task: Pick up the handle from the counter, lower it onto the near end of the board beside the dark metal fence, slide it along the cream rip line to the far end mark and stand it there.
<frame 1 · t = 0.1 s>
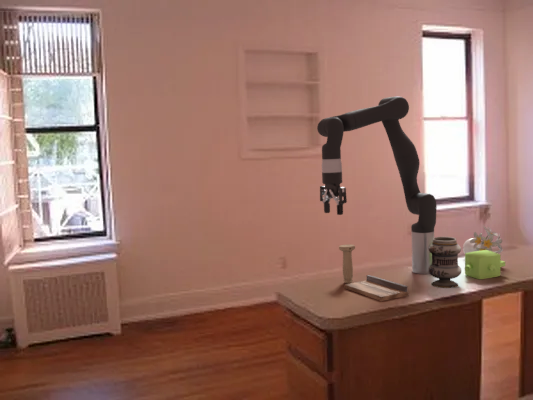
hand: (333, 213, 213), 29 cm above the worktop, tool pointing down, fingers open, 8 cm apart
gearbox: (482, 277, 224), on the worktop
handle: (348, 283, 223), on the worktop
apothecary jar: (444, 285, 214), on the worktop
board: (375, 291, 208), on the worktop
flower vase: (481, 262, 249), on the worktop
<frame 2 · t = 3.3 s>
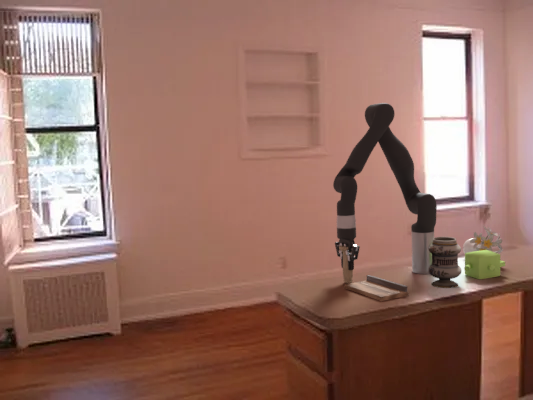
hand: (347, 268, 223), 6 cm above the worktop, tool pointing down, fingers closed on handle, 4 cm apart
handle: (348, 283, 223), on the worktop, touching gripper
everything else where it was.
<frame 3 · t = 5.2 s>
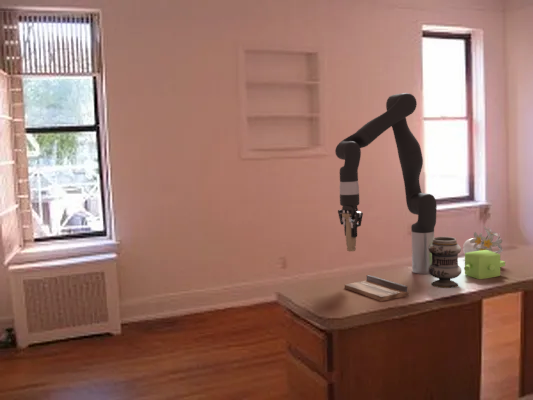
hand: (350, 236, 220), 19 cm above the worktop, tool pointing down, fingers closed on handle, 4 cm apart
handle: (351, 251, 220), point 13 cm above the worktop, touching gripper
everything else where it was.
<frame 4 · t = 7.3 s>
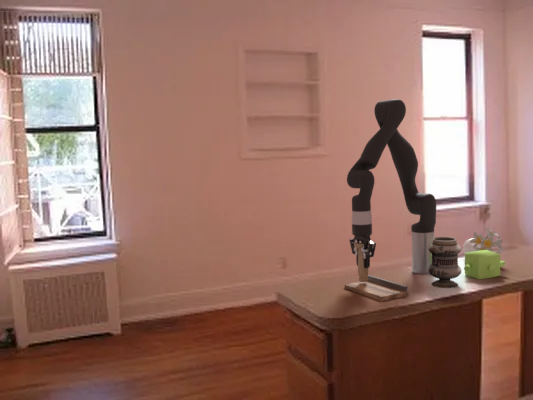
hand: (363, 266, 215), 8 cm above the worktop, tool pointing down, fingers closed on handle, 4 cm apart
handle: (363, 281, 215), point 2 cm above the worktop, touching gripper
everything else where it was.
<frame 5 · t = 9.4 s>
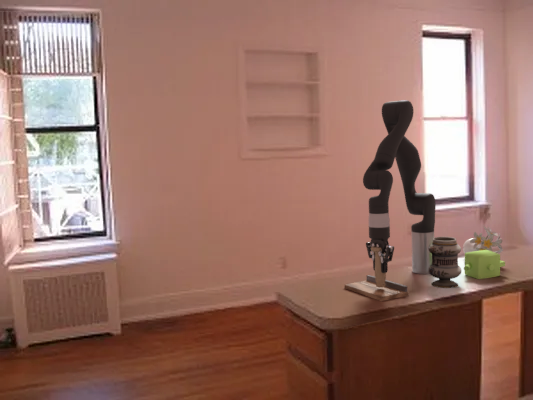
hand: (380, 271, 205), 8 cm above the worktop, tool pointing down, fingers closed on handle, 4 cm apart
handle: (380, 287, 206), point 2 cm above the worktop, touching gripper
everything else where it was.
when the fingers open (8 cm above the worktop, at t = 11.4 s): handle stays where it is, resting on board.
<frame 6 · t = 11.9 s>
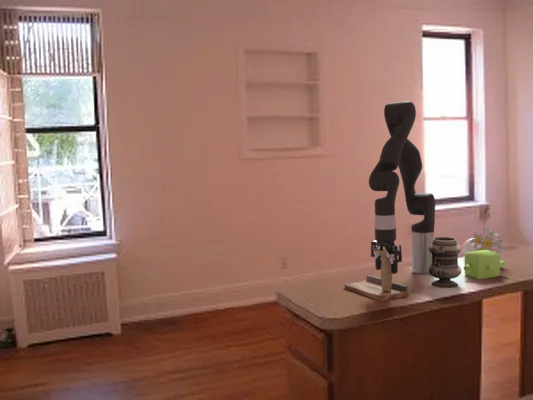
hand: (386, 271, 202), 9 cm above the worktop, tool pointing down, fingers open, 8 cm apart
handle: (386, 291, 203), point 1 cm above the worktop, touching board
everything else where it was.
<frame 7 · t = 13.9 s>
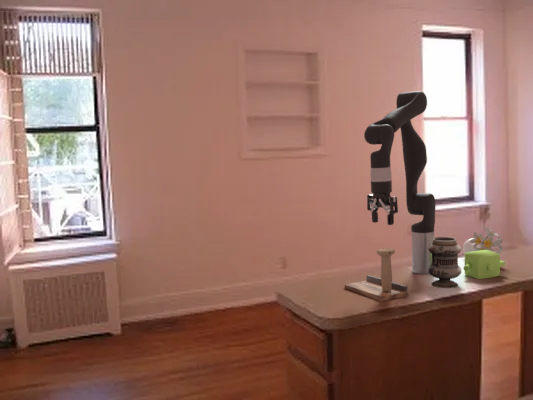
hand: (382, 223, 207), 25 cm above the worktop, tool pointing down, fingers open, 8 cm apart
nothing on the worktop moved.
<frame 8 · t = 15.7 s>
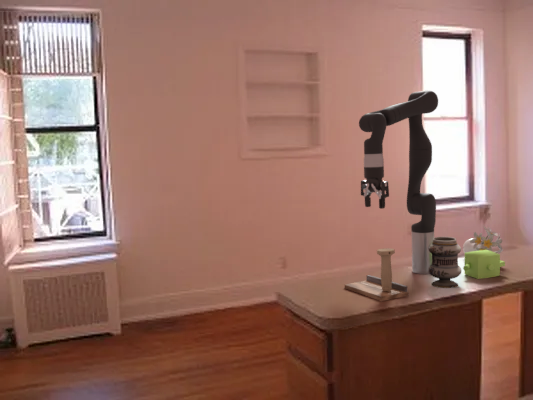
hand: (374, 207, 217), 30 cm above the worktop, tool pointing down, fingers open, 8 cm apart
nothing on the worktop moved.
at the end: handle inside the target area (0.5 cm from its centre), point 1.4 cm above the worktop; handle tilted 1°; the gripper is holding nothing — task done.
